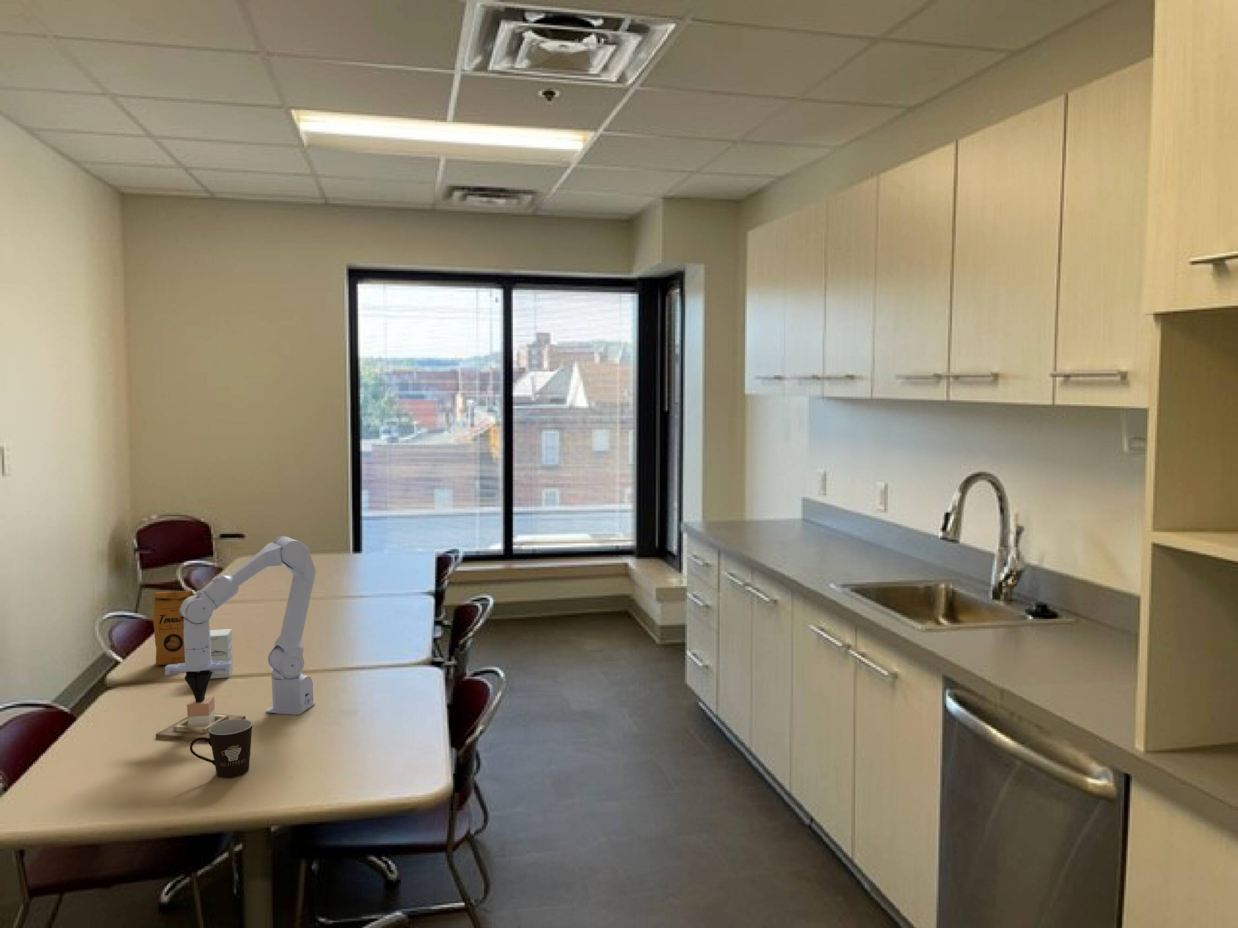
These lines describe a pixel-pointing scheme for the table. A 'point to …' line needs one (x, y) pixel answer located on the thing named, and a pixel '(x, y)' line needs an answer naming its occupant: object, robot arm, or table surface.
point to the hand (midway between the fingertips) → (200, 701)
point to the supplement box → (221, 650)
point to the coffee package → (169, 627)
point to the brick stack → (201, 712)
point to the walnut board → (192, 729)
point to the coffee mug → (229, 747)
